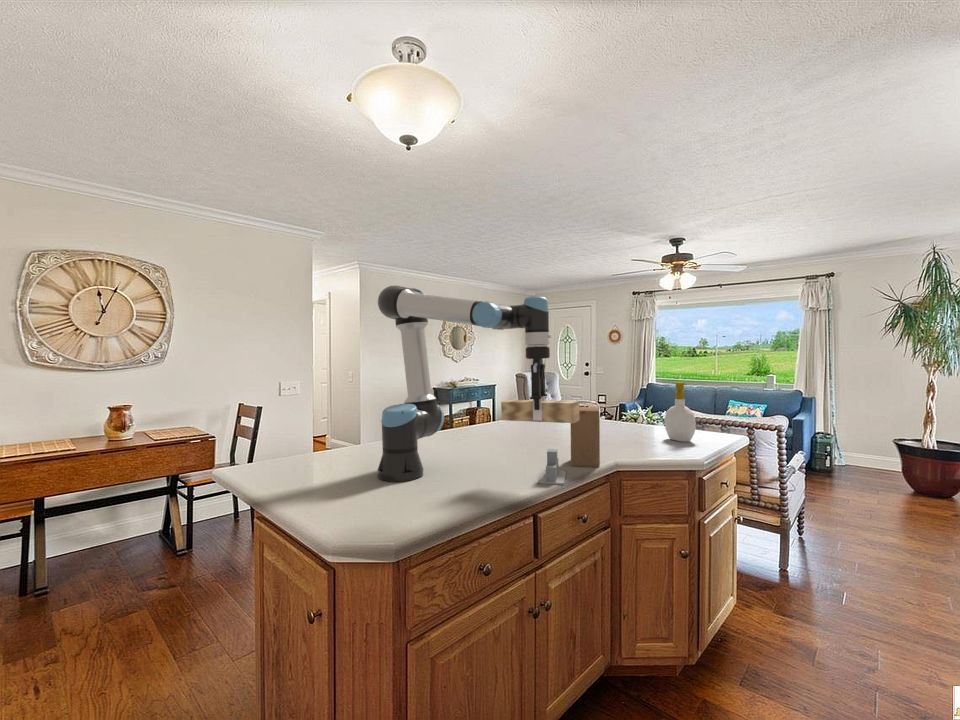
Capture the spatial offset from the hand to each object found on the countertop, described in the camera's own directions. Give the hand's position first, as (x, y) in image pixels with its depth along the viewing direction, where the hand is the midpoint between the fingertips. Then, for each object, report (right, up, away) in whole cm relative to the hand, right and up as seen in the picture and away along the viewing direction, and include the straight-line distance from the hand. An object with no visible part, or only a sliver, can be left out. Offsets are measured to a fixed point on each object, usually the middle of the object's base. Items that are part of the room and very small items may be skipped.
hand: (539, 418), depth 146 cm
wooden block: (+19, -19, +21) cm, 35 cm away
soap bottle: (+71, -18, +59) cm, 94 cm away
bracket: (+5, -20, +3) cm, 21 cm away
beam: (0, -1, 0) cm, 1 cm away
